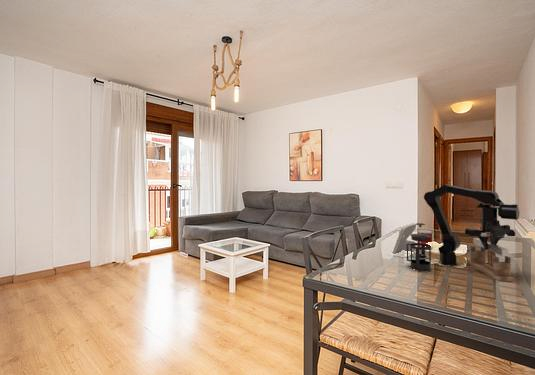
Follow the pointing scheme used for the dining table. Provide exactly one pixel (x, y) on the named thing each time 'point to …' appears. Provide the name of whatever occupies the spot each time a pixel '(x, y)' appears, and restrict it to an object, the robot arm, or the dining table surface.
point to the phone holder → (404, 239)
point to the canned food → (426, 234)
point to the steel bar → (492, 247)
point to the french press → (420, 252)
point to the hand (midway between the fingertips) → (489, 250)
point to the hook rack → (498, 270)
